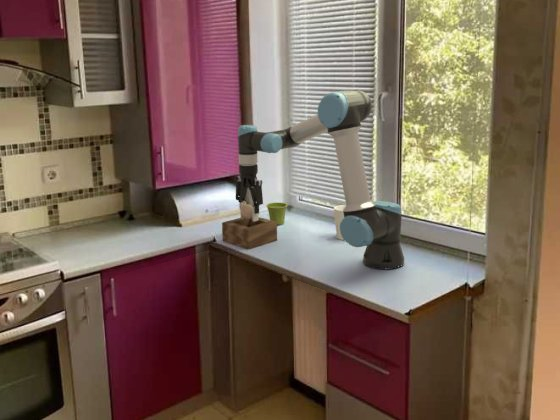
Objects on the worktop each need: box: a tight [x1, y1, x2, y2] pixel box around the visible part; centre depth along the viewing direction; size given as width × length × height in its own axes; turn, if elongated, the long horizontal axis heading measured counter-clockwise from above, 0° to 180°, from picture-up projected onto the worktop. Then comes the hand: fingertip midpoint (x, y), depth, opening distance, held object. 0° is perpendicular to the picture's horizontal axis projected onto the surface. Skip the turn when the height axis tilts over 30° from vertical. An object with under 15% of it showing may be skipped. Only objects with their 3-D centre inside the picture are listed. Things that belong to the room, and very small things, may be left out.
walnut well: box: [221, 216, 278, 250], centre depth 267 cm, size 16×16×8 cm
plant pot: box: [266, 202, 288, 226], centre depth 291 cm, size 9×9×9 cm
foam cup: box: [333, 204, 346, 241], centre depth 269 cm, size 10×9×13 cm
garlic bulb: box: [240, 201, 253, 220], centre depth 264 cm, size 7×6×8 cm
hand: (249, 219), depth 265 cm, fingers open, 6 cm apart
